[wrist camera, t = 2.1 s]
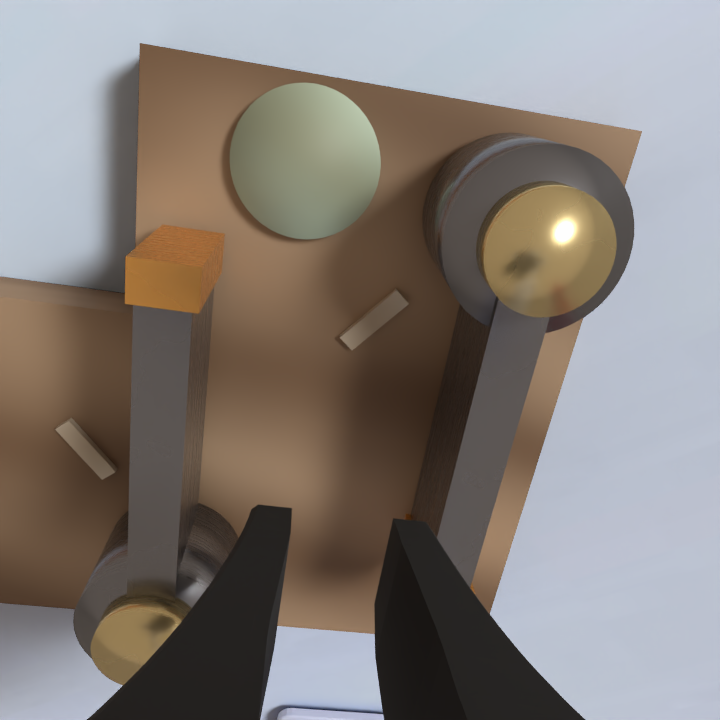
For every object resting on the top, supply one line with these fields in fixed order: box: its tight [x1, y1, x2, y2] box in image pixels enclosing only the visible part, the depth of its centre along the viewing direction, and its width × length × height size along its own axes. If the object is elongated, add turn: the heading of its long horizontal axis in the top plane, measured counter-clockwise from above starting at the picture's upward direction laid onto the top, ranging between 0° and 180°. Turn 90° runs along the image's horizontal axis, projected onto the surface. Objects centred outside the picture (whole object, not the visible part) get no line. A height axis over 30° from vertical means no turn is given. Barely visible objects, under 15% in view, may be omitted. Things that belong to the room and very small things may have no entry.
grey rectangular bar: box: [73, 224, 238, 685], centre depth 16 cm, size 12×4×4 cm, turn 171°
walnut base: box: [0, 43, 642, 634], centre depth 19 cm, size 17×16×2 cm
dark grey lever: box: [404, 133, 634, 594], centre depth 16 cm, size 12×4×4 cm, turn 171°
